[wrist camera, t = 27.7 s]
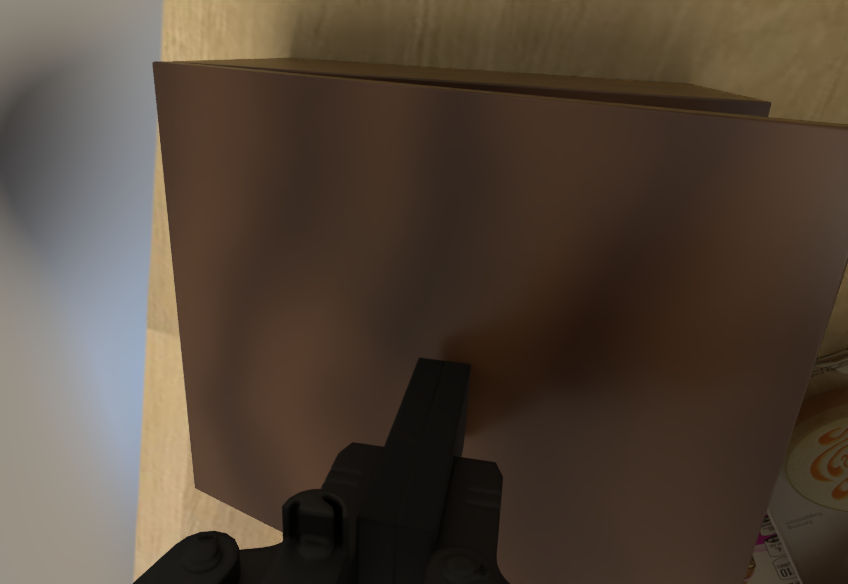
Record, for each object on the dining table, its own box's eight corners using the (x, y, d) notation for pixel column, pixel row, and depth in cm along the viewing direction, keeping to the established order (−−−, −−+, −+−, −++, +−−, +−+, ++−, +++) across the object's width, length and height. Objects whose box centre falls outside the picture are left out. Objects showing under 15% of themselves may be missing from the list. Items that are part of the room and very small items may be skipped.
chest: (691, 83, 28) (772, 102, 18) (625, 409, 34) (658, 550, 24) (287, 57, 30) (170, 61, 21) (294, 364, 37) (207, 476, 27)
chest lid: (885, 128, 12) (891, 131, 11) (695, 715, 18) (692, 740, 18) (173, 61, 21) (151, 61, 20) (209, 477, 27) (194, 488, 26)
